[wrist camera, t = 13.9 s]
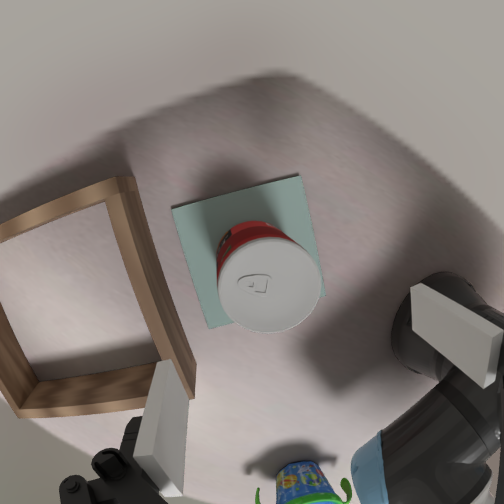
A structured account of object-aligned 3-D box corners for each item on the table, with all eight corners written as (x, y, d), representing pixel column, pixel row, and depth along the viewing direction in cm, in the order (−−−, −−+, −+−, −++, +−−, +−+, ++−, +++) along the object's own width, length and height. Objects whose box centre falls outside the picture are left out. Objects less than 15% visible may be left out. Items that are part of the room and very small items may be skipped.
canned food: (211, 224, 33) (210, 245, 22) (286, 215, 34) (320, 232, 23) (220, 293, 35) (224, 341, 24) (292, 283, 36) (323, 326, 25)
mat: (299, 175, 34) (300, 175, 33) (324, 293, 37) (325, 295, 36) (172, 209, 33) (171, 209, 32) (208, 326, 36) (208, 329, 36)
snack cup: (246, 488, 44) (253, 533, 34) (258, 453, 42) (268, 503, 32) (328, 485, 47) (343, 524, 37) (348, 450, 45) (369, 492, 35)
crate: (134, 176, 32) (115, 176, 25) (196, 363, 37) (194, 398, 30) (-27, 244, 30) (-59, 256, 23) (37, 390, 36) (18, 418, 29)
